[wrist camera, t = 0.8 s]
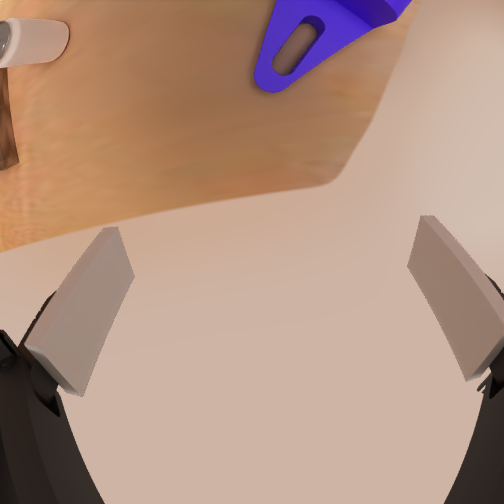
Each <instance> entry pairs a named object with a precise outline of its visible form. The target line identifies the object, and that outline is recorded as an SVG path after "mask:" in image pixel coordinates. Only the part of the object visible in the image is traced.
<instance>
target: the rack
mask: <svg viewBox="0 0 504 504" xmlns="http://www.w3.org/2000/svg"><path fill="white" fill-rule="evenodd" d="M18 162H19V159H18V155H17V150H16V145H15V140H14V134H13V128H12V121H11V114H10V105H9V95H8V82H7V67H6V68H0V170H2V171H3V170H6V169H8V168H9V167H11V166H13V165H15V164H16V163H18Z"/></svg>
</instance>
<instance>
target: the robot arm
mask: <svg viewBox="0 0 504 504" xmlns="http://www.w3.org/2000/svg"><path fill="white" fill-rule="evenodd" d="M407 267H408V268H409V270H410V272H411V274H412V275H413V277H414V279H415V280H416V282H417V284H418V285H419V287H420V289H421V291H422V292H423V294H424V296H425V298H426V299H427V301H428V303H429V305H430V307H431V309H432V310H433V312H434V314H435V316H436V318H437V320H438V322H439V324H440V326H441V328H442V329H443V332H444V334H445V336H446V338H447V340H448V341H449V344H450V346H451V348H452V350H453V353H454V355H455V357H456V359H457V361H458V364H459V366H460V368H461V371H462V373H463V375H464V378H465V380H466V381H470V380H472V379H475V378H478V377H480V376H481V375H482V374H483V373H484V372H485V370H486V369H487V368H488V367H490V370H491V373H490V374H489V376H488V377H487V378H486V379H485V380H484V381H483V382H482V383H481V384H480V386H479V387H478V389H477V391H480V390H481V389H482V388H483V387H484V386H485V385H486V387H485V389H484V390H483V392H482V393H483V394H484V396H483V400H482V404H481V408H480V412H479V416H478V419H477V422H476V426H475V429H474V433H473V435H472V438H471V441H470V444H469V447H468V450H467V453H466V455H465V458H464V461H463V463H462V465H461V468H460V471H459V473H458V475H457V477H456V480H455V482H454V484H453V486H452V488H451V490H450V492H449V495H448V496H447V498H446V500H445V502H444V504H504V294H503V293H501V290H500V289H499V287H498V286H497V284H496V283H495V282H494V281H493V280H492V279H491V278H489V277H488V276H487V275H486V274H484V273H483V271H482V270H481V269H480V268H479V266H478V265H477V264H476V262H475V261H474V260H473V259H472V258H471V257H470V255H469V254H468V253H467V252H466V251H465V249H464V248H463V247H462V246H461V245H460V243H458V241H457V240H456V239H455V238H454V237H453V236H452V235H451V233H450V232H449V231H448V230H447V229H446V228H445V227H444V226H443V225H442V224H441V223H440V222H439V221H438V219H437V218H435V216H421V217H420V221H419V225H418V229H417V233H416V237H415V241H414V244H413V248H412V251H411V255H410V258H409V262H408V265H407ZM133 279H134V273H133V270H132V268H131V265H130V262H129V259H128V256H127V254H126V251H125V247H124V244H123V242H122V238H121V235H120V232H119V229H118V227H108V228H103V229H102V231H101V232H100V233H99V234H98V236H97V237H96V238H95V239H94V241H93V242H92V243H91V244H90V246H89V247H88V248H87V250H86V251H85V252H84V254H83V255H82V256H81V257H80V259H79V260H78V261H77V263H76V264H75V265H74V267H73V268H72V270H71V271H70V272H69V274H68V275H67V277H66V278H65V279H64V281H63V283H62V284H61V285H60V287H59V288H58V290H57V291H55V292H54V293H53V294H52V295H51V296H50V297H49V298H47V300H46V301H45V303H44V304H43V306H42V307H41V311H39V312H38V313H37V315H36V319H34V320H33V322H32V323H31V325H30V327H29V328H28V330H27V332H26V334H25V335H24V337H23V339H22V340H21V342H20V344H19V346H18V347H17V346H16V345H15V344H14V342H13V341H12V340H11V339H10V337H9V336H8V335H7V333H6V332H5V331H4V330H0V504H105V503H104V502H103V500H102V498H101V496H100V494H99V492H98V490H97V489H96V486H95V484H94V482H93V480H92V478H91V476H90V474H89V472H88V470H87V468H86V465H85V463H84V461H83V458H82V456H81V454H80V452H79V449H78V447H77V444H76V441H75V439H74V436H73V433H72V431H71V428H70V425H69V422H68V419H67V416H66V413H65V410H64V407H63V403H62V400H61V397H60V395H59V393H58V392H57V391H56V389H57V386H58V385H60V386H61V387H62V388H63V389H64V390H65V391H66V392H67V393H69V394H73V395H77V396H80V397H83V396H84V393H85V390H86V387H87V385H88V382H89V379H90V376H91V374H92V371H93V369H94V366H95V363H96V361H97V359H98V356H99V354H100V351H101V349H102V347H103V344H104V342H105V339H106V337H107V335H108V332H109V330H110V328H111V325H112V323H113V321H114V319H115V317H116V314H117V312H118V310H119V308H120V306H121V304H122V302H123V299H124V297H125V295H126V293H127V291H128V289H129V287H130V285H131V283H132V281H133Z"/></svg>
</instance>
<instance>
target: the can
mask: <svg viewBox="0 0 504 504" xmlns="http://www.w3.org/2000/svg"><path fill="white" fill-rule="evenodd" d="M68 39H69V29H68V27H67V25H66V24H65V23H64V22H61V21H55V20H47V19H36V18H9V19H7V20H5V21H0V68H6V67H12V66H20V65H27V64H37V63H46V62H51V61H53V60H55V59H56V58H58V57H59V56H60V55H61V54H62V52H63V51H64V49H65V47H66V45H67V43H68Z"/></svg>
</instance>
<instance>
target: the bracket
mask: <svg viewBox="0 0 504 504" xmlns="http://www.w3.org/2000/svg"><path fill="white" fill-rule="evenodd" d="M411 1H412V0H277V1H276V4H275V7H274V10H273V13H272V16H271V19H270V22H269V25H268V28H267V32H266V35H265V38H264V41H263V45H262V48H261V51H260V54H259V58H258V61H257V65H256V68H255V72H254V79H255V82H256V84H257V85H258V86H259V87H260V88H261V89H262V90H264V91H267V92H271V93H275V92H280V91H282V90H284V89H285V88H286V87H288V86H289V85H290V84H292V83H293V82H294V81H296V80H297V79H298V78H300V77H301V76H302V75H304V74H305V73H307V72H308V71H309V70H311V69H312V68H314V67H315V66H316V65H318V64H319V63H321V62H322V61H324V60H325V59H326V58H328V57H329V56H331V55H332V54H334V53H335V52H337V51H338V50H340V49H341V48H343V47H344V46H346V45H348V44H349V43H351V42H352V41H354V40H355V39H357V38H359V37H360V36H362V35H364V34H365V33H367V32H369V31H370V30H372V29H374V28H376V27H379V26H382V25H385V24H388V23H391V22H394V21H396V20H397V19H398V17H399V16H400V15H401V13H402V12H403V11H404V10H405V8H406V7H407V6H408V5H409V3H410V2H411ZM301 23H309V24H311V25H313V26H314V27H315V28H316V30H317V37H316V38H315V40H314V41H313V42H312V43H311V45H310V46H309V47H308V49H307V50H306V51H305V53H304V54H303V55H302V57H301V58H300V60H299V61H298V62H297V64H296V65H295V66H294V68H293V69H292V71H291V72H290V73H289V74H288V75H280V74H278V73H276V72H275V71H274V70H273V68H272V59H273V58H274V56H275V55H276V54H277V52H278V51H279V50H280V48H281V47H282V45H283V44H284V43H285V41H286V40H287V39H288V37H289V36H290V35H291V33H292V32H293V31H294V30H295V28H296V27H297V26H298V25H299V24H301Z"/></svg>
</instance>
